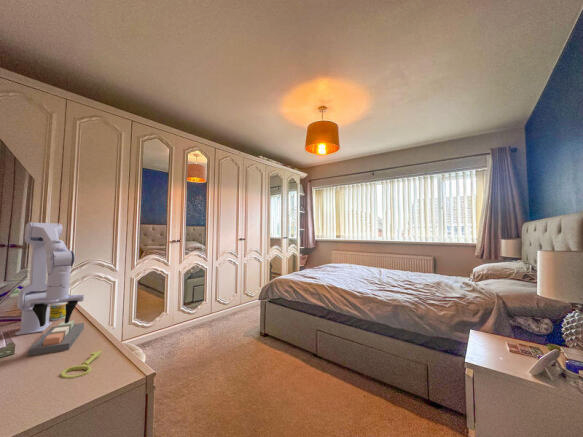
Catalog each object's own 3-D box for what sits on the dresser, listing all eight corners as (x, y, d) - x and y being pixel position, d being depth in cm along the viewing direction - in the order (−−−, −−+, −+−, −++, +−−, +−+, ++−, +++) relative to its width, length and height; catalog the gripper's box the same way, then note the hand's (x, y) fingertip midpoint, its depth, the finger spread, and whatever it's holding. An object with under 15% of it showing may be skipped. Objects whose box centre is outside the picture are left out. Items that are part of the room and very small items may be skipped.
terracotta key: (47, 341, 83) (48, 334, 83) (62, 339, 85) (63, 332, 85) (43, 346, 80) (43, 339, 80) (59, 344, 82) (59, 337, 82)
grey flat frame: (51, 332, 94) (51, 326, 94) (83, 328, 99) (84, 322, 99) (27, 356, 77) (28, 349, 77) (68, 349, 82) (69, 343, 82)
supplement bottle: (66, 315, 112) (68, 295, 112) (63, 319, 107) (65, 298, 108) (51, 317, 109) (52, 296, 109) (47, 321, 104) (49, 299, 105)
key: (101, 355, 80) (102, 349, 80) (87, 377, 68) (88, 369, 68) (74, 360, 77) (75, 353, 77) (55, 383, 65) (56, 375, 66)
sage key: (60, 328, 94) (61, 322, 95) (73, 326, 96) (74, 320, 97) (56, 331, 91) (57, 325, 91) (70, 330, 93) (71, 323, 93)
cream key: (54, 334, 89) (55, 328, 89) (68, 332, 91) (69, 326, 91) (50, 338, 85) (51, 332, 86) (65, 336, 87) (65, 330, 88)
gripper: (23, 289, 76) (19, 332, 76) (82, 285, 84) (78, 324, 83) (33, 284, 83) (29, 324, 82) (87, 281, 90) (84, 317, 89)
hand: (55, 324), depth 83 cm, fingers open, 6 cm apart
